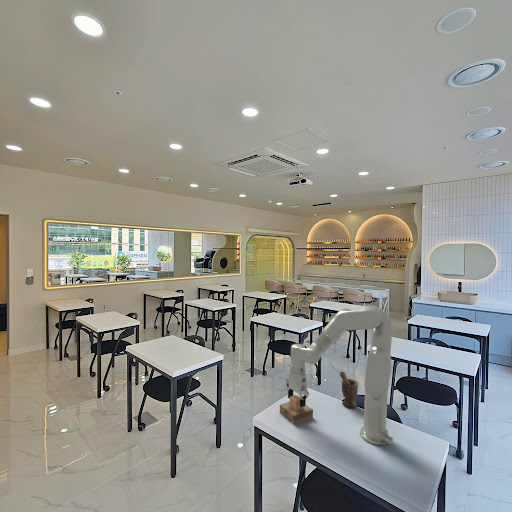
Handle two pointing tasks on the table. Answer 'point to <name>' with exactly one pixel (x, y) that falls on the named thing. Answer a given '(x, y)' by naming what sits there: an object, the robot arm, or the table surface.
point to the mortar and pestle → (349, 391)
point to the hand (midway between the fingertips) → (296, 401)
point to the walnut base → (296, 413)
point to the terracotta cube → (295, 402)
